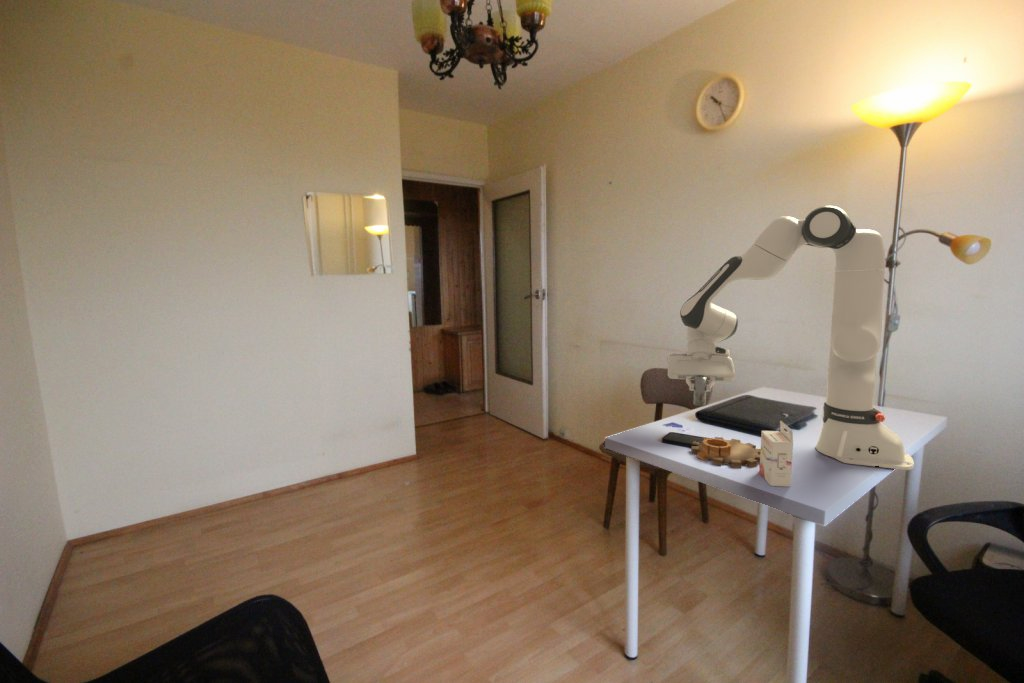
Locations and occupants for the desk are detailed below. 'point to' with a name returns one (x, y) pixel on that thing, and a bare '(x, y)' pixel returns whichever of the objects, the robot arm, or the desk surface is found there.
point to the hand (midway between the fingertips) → (700, 390)
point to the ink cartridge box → (776, 456)
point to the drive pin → (700, 390)
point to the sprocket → (727, 452)
